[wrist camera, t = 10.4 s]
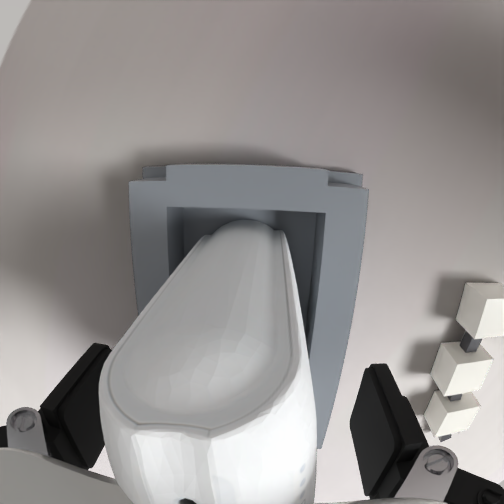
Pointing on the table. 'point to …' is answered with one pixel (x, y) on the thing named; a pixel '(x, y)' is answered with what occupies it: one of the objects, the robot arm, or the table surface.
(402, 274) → the table surface
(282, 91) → the table surface
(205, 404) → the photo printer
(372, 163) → the table surface
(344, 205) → the end holder
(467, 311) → the white cube chain
